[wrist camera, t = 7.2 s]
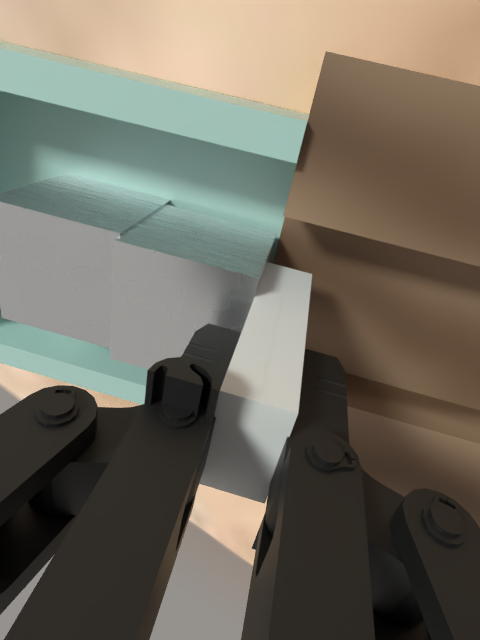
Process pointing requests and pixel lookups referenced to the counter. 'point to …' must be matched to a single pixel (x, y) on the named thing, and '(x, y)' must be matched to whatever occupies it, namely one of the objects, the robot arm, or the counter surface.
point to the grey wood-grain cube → (182, 281)
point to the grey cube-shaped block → (65, 253)
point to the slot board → (395, 266)
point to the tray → (134, 170)
